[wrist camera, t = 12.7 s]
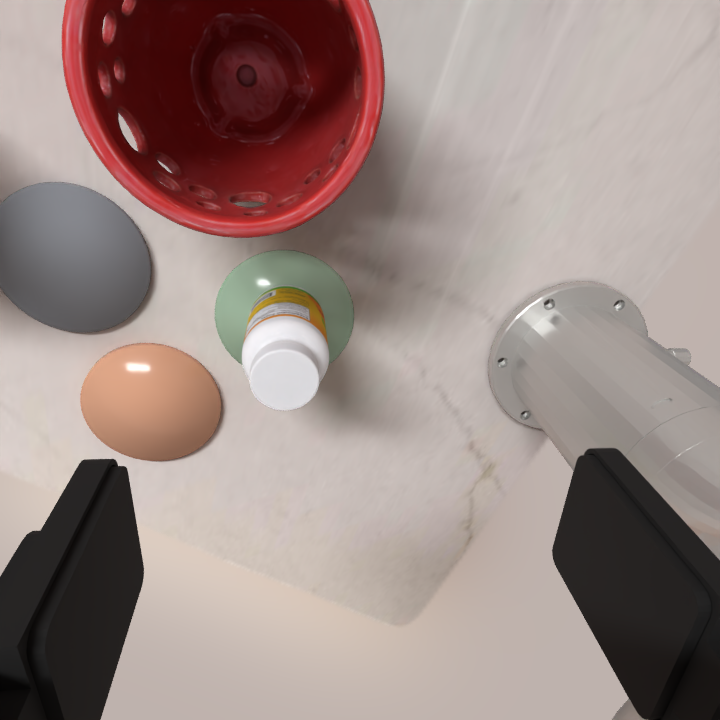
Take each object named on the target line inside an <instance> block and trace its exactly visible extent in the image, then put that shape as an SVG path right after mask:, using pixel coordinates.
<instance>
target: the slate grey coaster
mask: <svg viewBox="0 0 720 720" xmlns="http://www.w3.org/2000/svg"><path fill="white" fill-rule="evenodd" d="M150 277H151V262H150V255H149V252H148V248H147V245H146V243H145V240H144V238H143V236H142V234H141V232H140V231H139V229H138V227H137V226H136V225H135V223H134V222H133V221H132V219H131V218H130V217H129V216H128V215H127V214H126V213H125V212H124V210H122V209H121V208H120V207H119V206H118V205H117V204H115V203H114V202H113V201H111V200H110V199H108V198H107V197H105V196H103V195H102V194H100V193H98V192H96V191H94V190H91V189H89V188H86V187H83V186H80V185H76V184H71V183H64V182H46V183H39V184H35V185H31V186H28V187H26V188H23V189H21V190H19V191H17V192H15V193H13V194H12V195H10V196H9V197H8V198H6V199H5V200H4V201H3V202H2V203H1V204H0V288H1V289H2V290H3V292H4V293H5V294H6V296H7V297H8V298H9V299H10V300H11V301H12V302H13V303H14V304H15V305H16V306H17V307H19V308H20V309H21V310H22V311H24V312H25V313H26V314H28V315H29V316H31V317H32V318H34V319H36V320H38V321H39V322H42V323H44V324H46V325H48V326H51V327H54V328H57V329H61V330H66V331H71V332H95V331H101V330H105V329H108V328H111V327H113V326H116V325H117V324H119V323H121V322H123V321H124V320H126V319H127V318H128V317H129V316H131V315H132V314H133V312H134V311H135V310H136V309H137V308H138V307H139V305H140V304H141V302H142V301H143V299H144V297H145V295H146V293H147V290H148V287H149V284H150Z"/></svg>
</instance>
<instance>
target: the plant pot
mask: <svg viewBox="0 0 720 720" xmlns="http://www.w3.org/2000/svg"><path fill="white" fill-rule="evenodd" d="M123 2H124V3H123ZM122 5H123V6H122ZM104 17H105V25H104V30H103V34H102V28H103V20H104ZM62 59H63V68H64V76H65V81H66V86H67V90H68V93H69V97H70V100H71V103H72V106H73V109H74V112H75V114H76V117H77V119H78V122H79V124H80V126H81V128H82V130H83V132H84V134H85V136H86V138H87V140H88V141H89V143H90V145H91V146H92V148H93V150H94V151H95V153H96V154H97V156H98V157H99V159H100V160H101V162H102V163H103V164H104V166H105V167H106V168H107V169H108V171H109V172H110V173H111V174H112V175H113V177H114V178H115V179H116V180H117V181H118V182H119V183H120V184H121V185H122V186H123V187H124V188H125V189H126V190H127V191H129V192H130V194H131V195H133V196H134V197H135V198H137V199H138V200H139V201H141V202H142V203H143V204H144V205H146V206H147V207H149V208H150V209H152V210H154V211H155V212H157V213H159V214H160V215H162V216H164V217H166V218H167V219H169V220H171V221H173V222H175V223H177V224H179V225H182V226H184V227H187V228H189V229H192V230H195V231H199V232H203V233H206V234H211V235H217V236H223V237H234V238H250V237H260V236H267V235H272V234H276V233H280V232H284V231H287V230H290V229H292V228H295V227H297V226H300V225H302V224H303V223H305V222H307V221H309V220H311V219H312V218H314V217H315V216H317V215H318V214H320V213H321V212H323V211H324V210H325V209H326V208H328V207H329V206H330V205H331V204H332V203H334V202H335V201H336V200H337V199H338V198H339V197H340V196H341V195H342V194H343V193H344V191H345V190H346V189H347V188H348V187H349V185H350V184H351V183H352V182H353V180H354V179H355V177H356V176H357V174H358V173H359V171H360V169H361V168H362V166H363V164H364V162H365V160H366V158H367V157H368V155H369V153H370V150H371V148H372V145H373V143H374V140H375V137H376V133H377V130H378V126H379V123H380V119H381V114H382V109H383V100H384V87H385V73H384V59H383V51H382V44H381V40H380V35H379V31H378V27H377V24H376V20H375V17H374V14H373V11H372V8H371V6H370V3H369V0H125V1H124V0H66V4H65V9H64V17H63V24H62ZM118 113H119V114H120V115H121V116H122V117H123V119H124V120H125V121H126V123H127V125H128V126H129V128H130V130H131V132H132V134H133V136H134V139H135V141H136V143H137V148H138V152H137V151H136V150H134V149H133V148H132V147H131V146H130V144H129V143H128V142H127V140H126V139H125V137H124V135H123V133H122V131H121V128H120V125H119V120H118ZM157 160H158V161H160V162H161V163H163V164H164V165H165V166H167V167H168V168H169V170H170V171H171V172H172V173H170V172H168V171H167V170H166V169H165V168H164V167H162V166H161V165H160V164H159V163H158V161H157ZM160 182H161V183H160ZM163 184H164V185H165V186H164V185H163ZM167 187H168V188H167ZM202 196H203V197H202ZM249 201H251V202H263V203H266V204H264V205H261V206H256V207H242V206H237V205H235V204H233V203H236V202H249Z"/></svg>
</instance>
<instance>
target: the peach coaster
mask: <svg viewBox="0 0 720 720" xmlns="http://www.w3.org/2000/svg"><path fill="white" fill-rule="evenodd" d="M80 402H81V409H82V413H83V416H84V418H85V421H86V423H87V425H88V426H89V428H90V429H91V431H92V432H93V433H94V434H95V435H96V436H97V438H99V439H100V440H101V441H102V442H103V443H104V444H106V445H107V446H109V447H110V448H112V449H113V450H115V451H117V452H119V453H121V454H124V455H126V456H129V457H132V458H136V459H141V460H149V461H164V460H171V459H176V458H180V457H183V456H186V455H188V454H190V453H192V452H194V451H195V450H197V449H199V448H200V447H201V446H202V445H204V444H205V443H206V442H207V441H208V440H209V439H210V437H211V436H212V434H213V433H214V431H215V429H216V427H217V425H218V422H219V418H220V412H221V399H220V393H219V390H218V387H217V385H216V383H215V381H214V379H213V378H212V376H211V375H210V373H209V372H208V371H207V370H206V368H205V367H204V366H203V365H202V364H200V363H199V362H198V361H197V360H196V359H194V358H193V357H191V356H190V355H188V354H186V353H184V352H183V351H180V350H178V349H175V348H173V347H169V346H166V345H161V344H155V343H137V344H131V345H126V346H123V347H120V348H117V349H115V350H113V351H111V352H109V353H107V354H106V355H104V356H103V357H102V358H101V359H100V360H98V361H97V362H96V364H95V365H94V366H93V367H92V369H91V370H90V372H89V373H88V375H87V377H86V378H85V380H84V383H83V386H82V390H81V401H80Z"/></svg>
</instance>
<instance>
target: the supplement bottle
mask: <svg viewBox="0 0 720 720" xmlns="http://www.w3.org/2000/svg"><path fill="white" fill-rule="evenodd" d="M328 364H329V348H328V341H327V333H326V326H325V318H324V313H323V310H322V307H321V305H320V303H319V302H318V300H317V299H316V298H315V297H314V296H313V295H312V294H311V293H310V292H308V291H307V290H305V289H303V288H300V287H297V286H293V285H279V286H275V287H272V288H270V289H268V290H266V291H264V292H263V293H262V294H260V295H259V296H258V297H257V299H256V300H255V302H254V303H253V305H252V307H251V310H250V313H249V318H248V323H247V328H246V333H245V338H244V343H243V348H242V365H243V369H244V372H245V374H246V376H247V378H248V379H249V382H250V387H251V390H252V392H253V394H254V396H255V397H256V398H257V400H258V401H260V402H261V403H262V404H263V405H265V406H267V407H269V408H271V409H275V410H280V411H289V410H294V409H297V408H300V407H302V406H304V405H305V404H307V403H308V402H309V401H310V400H311V399H312V398H313V397H314V396H315V394H316V392H317V390H318V387H319V383H320V382H321V380H322V379H323V377H324V376H325V374H326V371H327V368H328Z"/></svg>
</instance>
